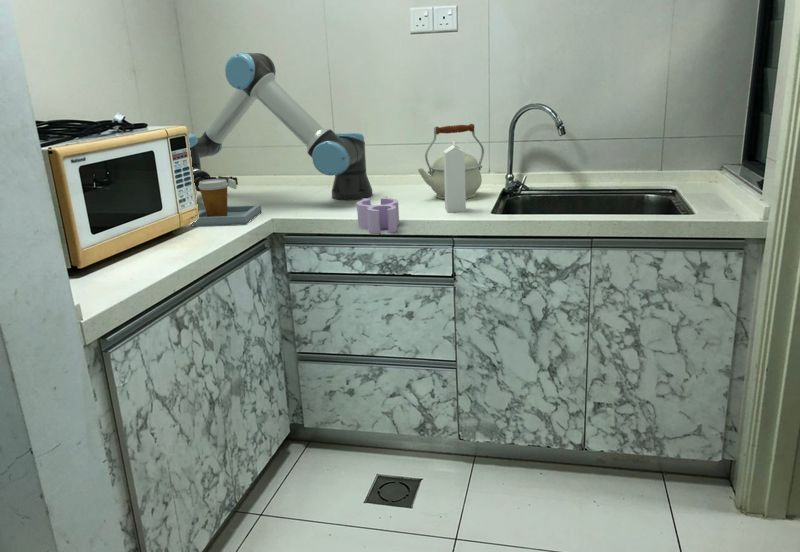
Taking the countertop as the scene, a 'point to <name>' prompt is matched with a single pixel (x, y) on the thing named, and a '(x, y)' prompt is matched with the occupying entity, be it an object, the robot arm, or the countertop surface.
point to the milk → (454, 179)
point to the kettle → (437, 172)
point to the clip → (378, 215)
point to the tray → (230, 216)
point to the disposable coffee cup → (214, 196)
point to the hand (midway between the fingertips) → (215, 187)
